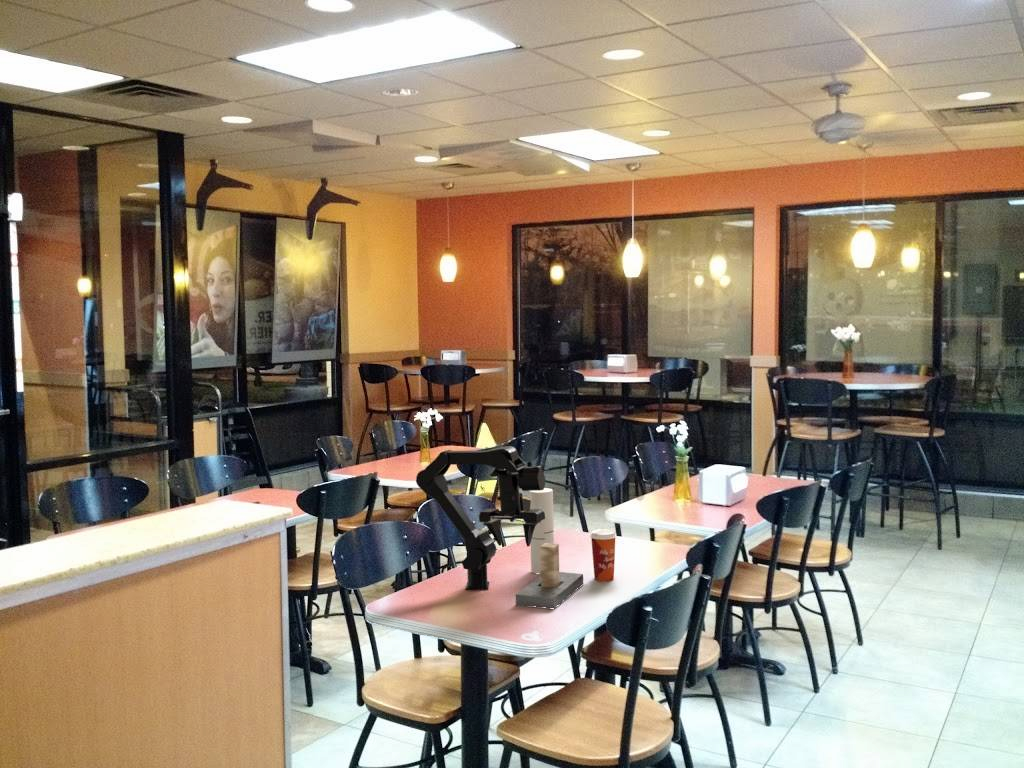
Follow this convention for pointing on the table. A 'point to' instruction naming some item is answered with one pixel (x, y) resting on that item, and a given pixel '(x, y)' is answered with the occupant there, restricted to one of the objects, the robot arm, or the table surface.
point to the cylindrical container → (541, 525)
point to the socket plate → (549, 591)
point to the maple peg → (549, 565)
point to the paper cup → (603, 554)
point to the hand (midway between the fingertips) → (514, 545)
